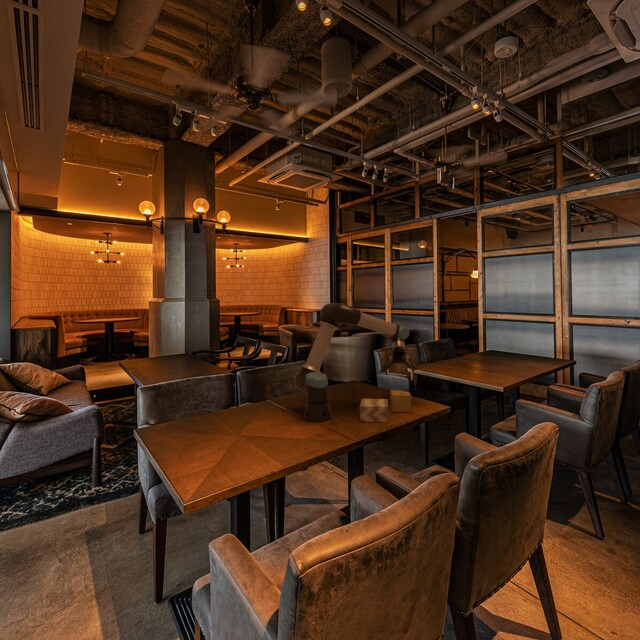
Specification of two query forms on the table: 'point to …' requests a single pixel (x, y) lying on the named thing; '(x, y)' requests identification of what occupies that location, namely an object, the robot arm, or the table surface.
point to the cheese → (400, 401)
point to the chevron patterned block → (374, 410)
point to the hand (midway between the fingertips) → (399, 379)
